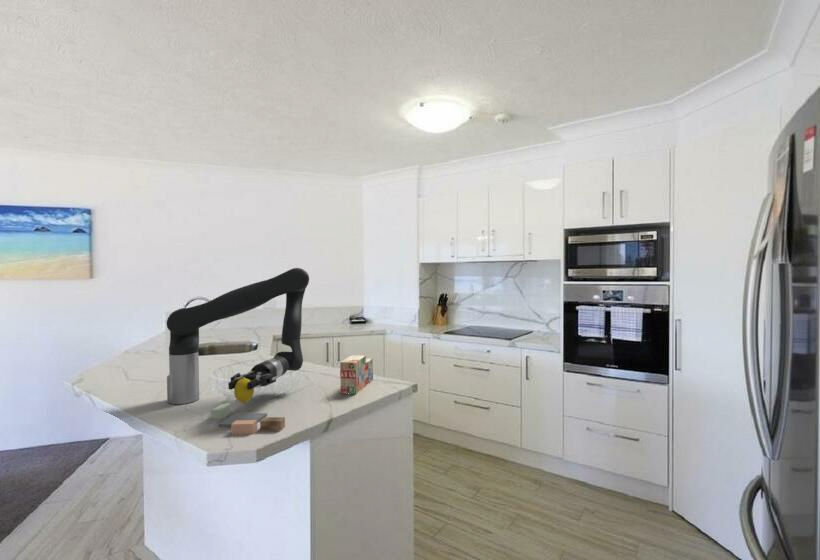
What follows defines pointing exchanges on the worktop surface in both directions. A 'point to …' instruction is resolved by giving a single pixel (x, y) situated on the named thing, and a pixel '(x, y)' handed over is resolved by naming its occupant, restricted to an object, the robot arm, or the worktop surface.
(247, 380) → the lemon
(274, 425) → the brick walnut
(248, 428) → the brick terracotta
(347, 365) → the stack of blocks
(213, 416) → the brick sage
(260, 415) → the coaster
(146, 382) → the worktop surface
